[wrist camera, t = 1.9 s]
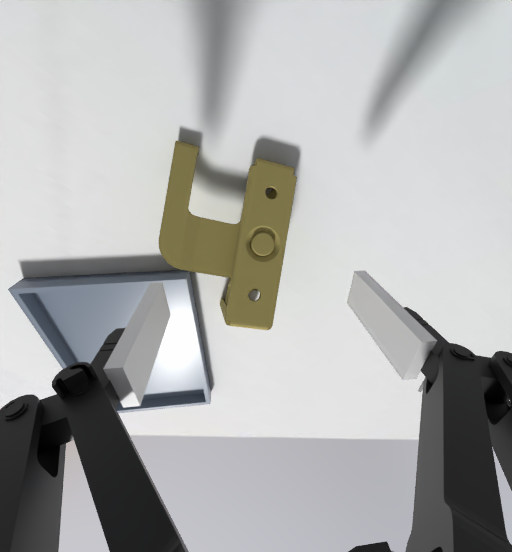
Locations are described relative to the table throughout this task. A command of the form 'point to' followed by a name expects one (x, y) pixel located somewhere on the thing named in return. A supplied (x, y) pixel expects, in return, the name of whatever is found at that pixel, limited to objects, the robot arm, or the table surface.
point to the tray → (116, 314)
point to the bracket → (232, 237)
